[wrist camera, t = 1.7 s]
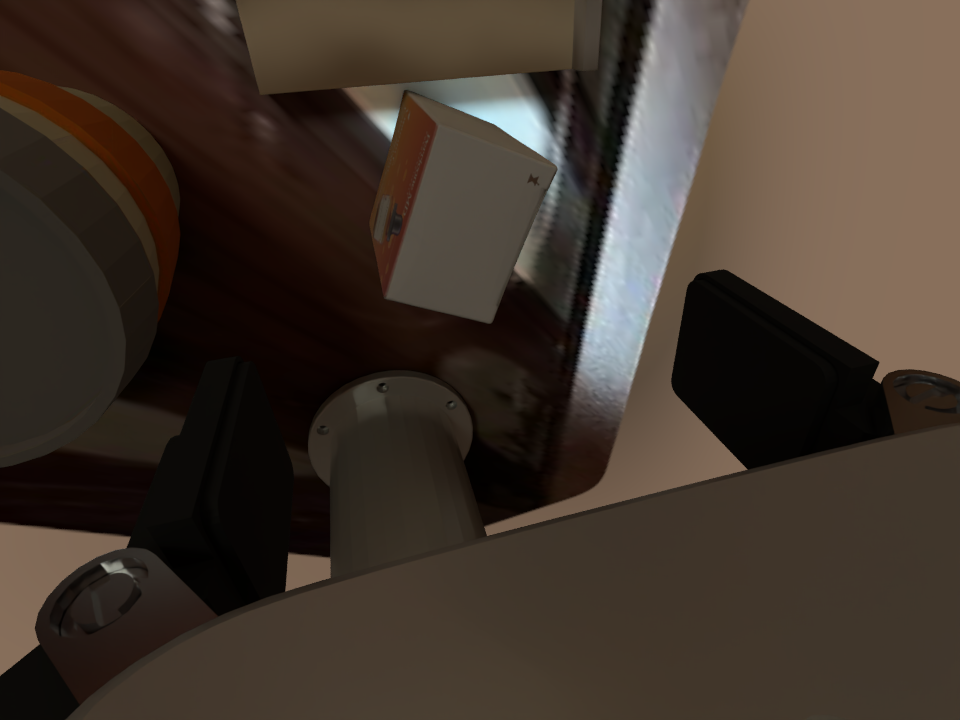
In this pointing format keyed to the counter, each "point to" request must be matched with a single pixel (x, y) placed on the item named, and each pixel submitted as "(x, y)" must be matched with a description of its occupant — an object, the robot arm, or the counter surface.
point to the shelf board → (413, 40)
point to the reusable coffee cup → (76, 259)
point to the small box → (453, 209)
